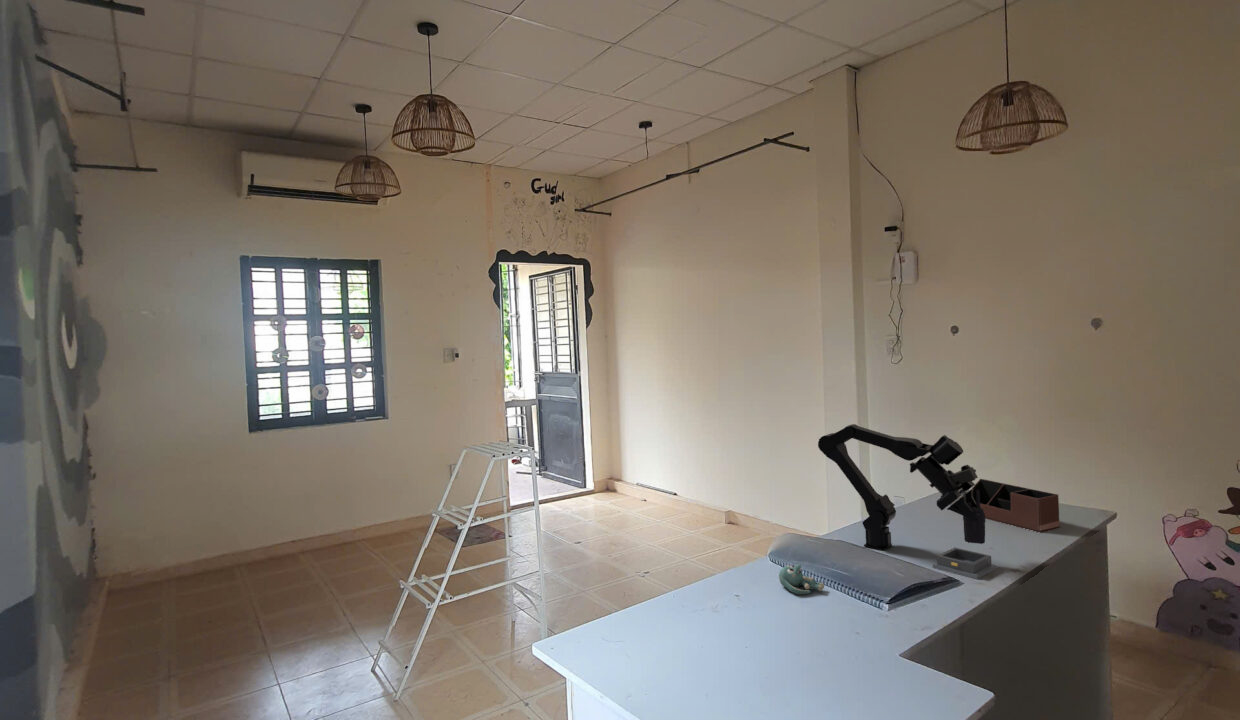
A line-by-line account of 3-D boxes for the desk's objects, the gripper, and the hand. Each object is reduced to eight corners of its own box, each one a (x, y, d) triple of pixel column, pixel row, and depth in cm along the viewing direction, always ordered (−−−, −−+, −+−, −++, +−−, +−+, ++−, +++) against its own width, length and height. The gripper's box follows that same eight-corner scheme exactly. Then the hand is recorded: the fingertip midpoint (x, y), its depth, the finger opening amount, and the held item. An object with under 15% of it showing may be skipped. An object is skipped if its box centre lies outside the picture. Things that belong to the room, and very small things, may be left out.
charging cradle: (932, 567, 178) (932, 555, 178) (952, 558, 185) (952, 546, 185) (976, 579, 169) (976, 566, 169) (996, 568, 175) (995, 556, 175)
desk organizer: (1040, 534, 202) (1039, 499, 202) (960, 512, 230) (959, 481, 229) (1062, 528, 206) (1061, 494, 206) (981, 508, 233) (980, 478, 233)
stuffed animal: (820, 580, 161) (775, 564, 167) (816, 606, 162) (771, 590, 168) (830, 566, 170) (787, 552, 176) (826, 591, 171) (783, 576, 177)
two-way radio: (985, 542, 180) (984, 489, 180) (986, 546, 176) (985, 492, 176) (963, 540, 182) (962, 488, 183) (964, 544, 178) (962, 491, 179)
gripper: (948, 463, 175) (994, 508, 168) (966, 451, 188) (1009, 493, 181) (918, 487, 180) (962, 532, 173) (938, 475, 194) (979, 516, 187)
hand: (979, 518), depth 178 cm, fingers closed on two-way radio, 5 cm apart
